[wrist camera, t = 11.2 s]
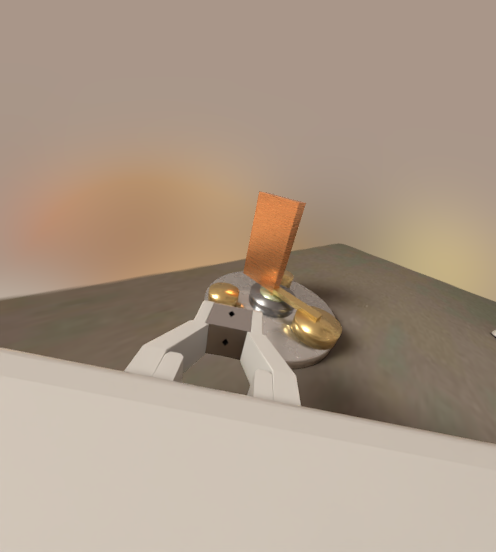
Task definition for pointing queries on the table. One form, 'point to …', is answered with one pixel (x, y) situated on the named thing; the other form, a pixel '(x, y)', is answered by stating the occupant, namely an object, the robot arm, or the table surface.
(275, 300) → the levelling base
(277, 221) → the vane knob
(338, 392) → the table surface
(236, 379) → the table surface
